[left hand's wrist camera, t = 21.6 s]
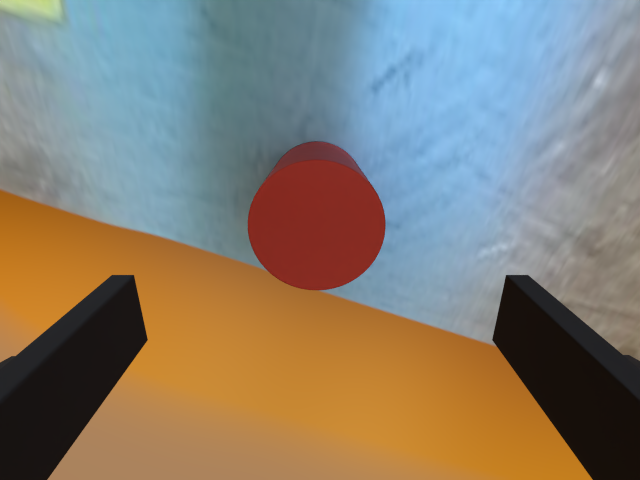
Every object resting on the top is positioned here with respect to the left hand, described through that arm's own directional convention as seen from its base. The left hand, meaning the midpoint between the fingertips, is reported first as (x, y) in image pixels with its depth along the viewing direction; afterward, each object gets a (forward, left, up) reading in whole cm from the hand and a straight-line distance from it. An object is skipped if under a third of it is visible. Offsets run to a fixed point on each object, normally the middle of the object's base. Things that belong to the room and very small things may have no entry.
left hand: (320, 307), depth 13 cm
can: (0, 0, -22) cm, 22 cm away
